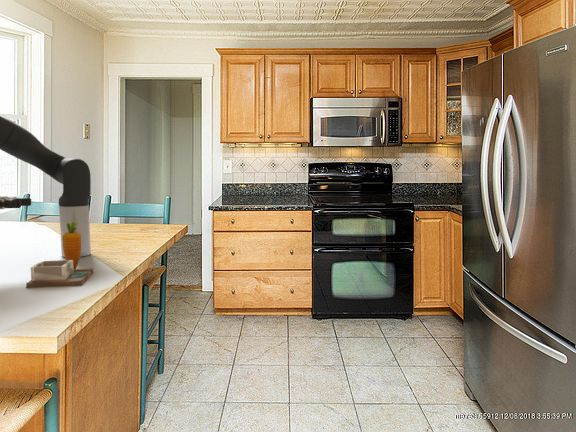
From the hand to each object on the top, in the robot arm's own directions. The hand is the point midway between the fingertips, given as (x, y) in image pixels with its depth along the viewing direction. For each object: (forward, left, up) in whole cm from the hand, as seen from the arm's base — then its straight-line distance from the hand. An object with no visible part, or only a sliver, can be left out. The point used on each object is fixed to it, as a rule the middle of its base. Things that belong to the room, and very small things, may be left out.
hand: (25, 203), depth 130 cm
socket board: (+11, +12, -20) cm, 26 cm away
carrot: (0, +12, -20) cm, 24 cm away
